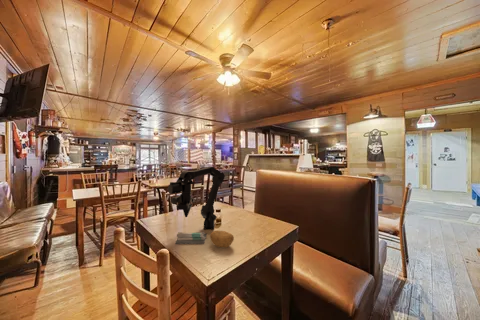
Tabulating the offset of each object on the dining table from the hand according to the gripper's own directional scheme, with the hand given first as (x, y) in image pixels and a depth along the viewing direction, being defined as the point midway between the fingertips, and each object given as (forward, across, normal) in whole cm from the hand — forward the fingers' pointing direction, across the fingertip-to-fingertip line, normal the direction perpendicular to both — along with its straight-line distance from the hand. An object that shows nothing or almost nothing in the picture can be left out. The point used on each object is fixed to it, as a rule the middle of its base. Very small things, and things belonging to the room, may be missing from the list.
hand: (186, 216), depth 114 cm
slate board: (+12, +5, +5) cm, 14 cm away
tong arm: (+9, +7, +5) cm, 12 cm away
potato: (+12, +13, +23) cm, 29 cm away
